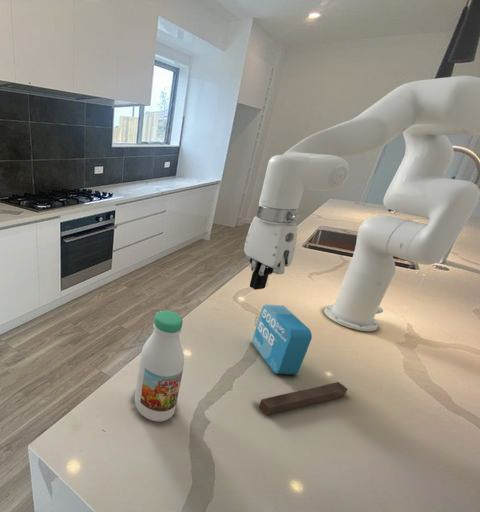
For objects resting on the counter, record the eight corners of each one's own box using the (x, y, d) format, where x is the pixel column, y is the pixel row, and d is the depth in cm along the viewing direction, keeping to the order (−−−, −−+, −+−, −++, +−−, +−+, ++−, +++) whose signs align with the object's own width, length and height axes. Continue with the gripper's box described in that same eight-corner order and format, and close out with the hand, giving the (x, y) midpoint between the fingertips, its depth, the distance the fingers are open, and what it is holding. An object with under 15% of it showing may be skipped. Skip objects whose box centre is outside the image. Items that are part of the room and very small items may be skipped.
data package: (251, 342, 77) (263, 302, 72) (268, 343, 77) (281, 302, 72) (276, 377, 66) (292, 332, 61) (297, 378, 66) (314, 333, 61)
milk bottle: (125, 404, 57) (136, 315, 50) (149, 383, 62) (162, 300, 55) (159, 431, 52) (176, 337, 45) (182, 406, 57) (201, 318, 50)
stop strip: (335, 388, 63) (338, 381, 63) (344, 396, 62) (348, 389, 61) (258, 406, 58) (261, 399, 57) (266, 415, 56) (269, 407, 56)
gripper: (320, 222, 60) (295, 301, 67) (263, 205, 73) (247, 273, 80) (291, 224, 58) (268, 305, 65) (237, 207, 71) (223, 276, 78)
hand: (257, 287), depth 72 cm, fingers closed
